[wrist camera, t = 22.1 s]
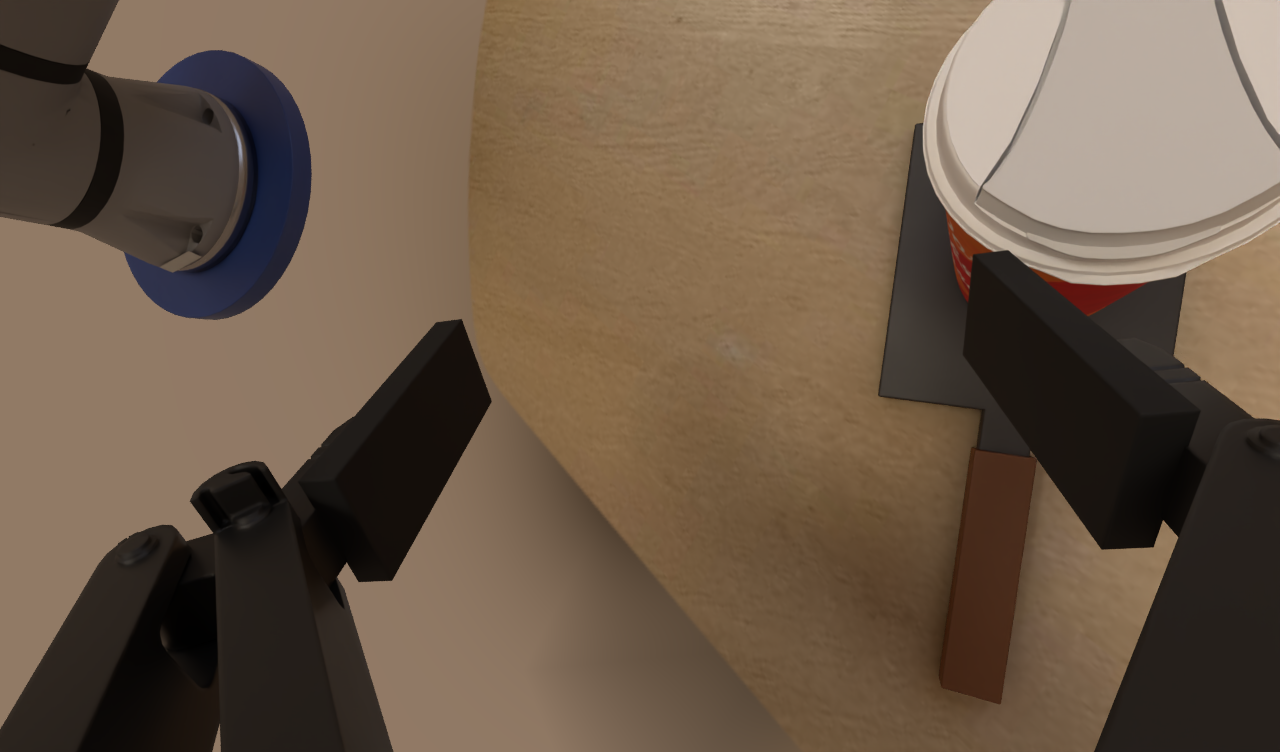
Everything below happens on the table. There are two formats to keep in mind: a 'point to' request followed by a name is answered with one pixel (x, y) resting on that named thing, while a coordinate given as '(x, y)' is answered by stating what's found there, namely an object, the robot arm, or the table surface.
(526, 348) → the table surface
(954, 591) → the spatula
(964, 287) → the coffee cup
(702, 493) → the table surface
